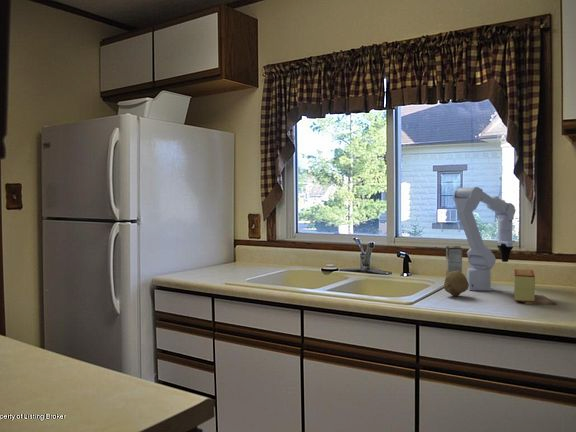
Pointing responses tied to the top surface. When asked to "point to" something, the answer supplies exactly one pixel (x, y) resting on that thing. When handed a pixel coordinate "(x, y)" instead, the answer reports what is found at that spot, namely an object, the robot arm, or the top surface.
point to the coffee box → (453, 259)
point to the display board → (541, 301)
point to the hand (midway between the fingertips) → (504, 261)
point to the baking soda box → (524, 285)
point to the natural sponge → (455, 283)
